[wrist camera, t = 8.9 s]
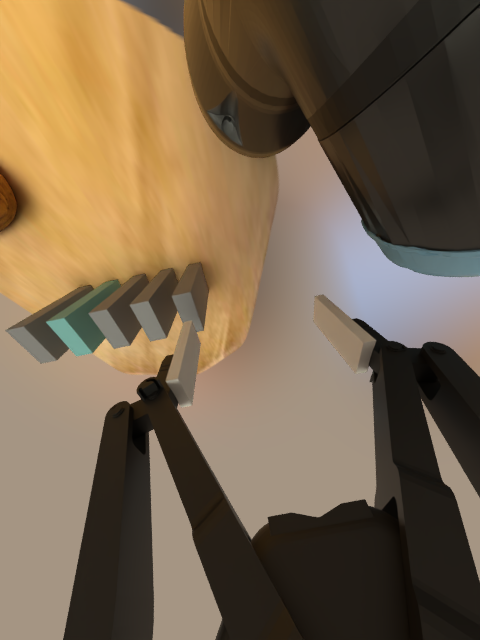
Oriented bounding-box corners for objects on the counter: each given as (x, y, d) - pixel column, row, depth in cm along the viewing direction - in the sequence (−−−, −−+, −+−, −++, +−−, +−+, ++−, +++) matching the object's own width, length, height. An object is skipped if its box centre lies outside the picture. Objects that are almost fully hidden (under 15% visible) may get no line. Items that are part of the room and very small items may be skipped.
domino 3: (200, 262, 29) (190, 292, 19) (208, 290, 32) (203, 330, 22) (188, 264, 29) (171, 295, 19) (197, 293, 32) (187, 333, 22)
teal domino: (117, 279, 30) (64, 318, 19) (132, 306, 32) (92, 352, 22) (105, 282, 30) (45, 321, 19) (121, 308, 32) (76, 356, 22)
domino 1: (145, 273, 29) (106, 309, 19) (158, 301, 32) (130, 345, 22) (133, 276, 30) (88, 313, 19) (147, 303, 32) (113, 348, 22)
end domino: (90, 285, 30) (23, 326, 19) (108, 311, 32) (56, 360, 22) (78, 287, 30) (5, 330, 19) (97, 313, 32) (40, 363, 22)
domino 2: (172, 268, 29) (148, 301, 19) (183, 296, 32) (166, 338, 22) (160, 270, 29) (129, 304, 19) (172, 298, 32) (150, 341, 22)
